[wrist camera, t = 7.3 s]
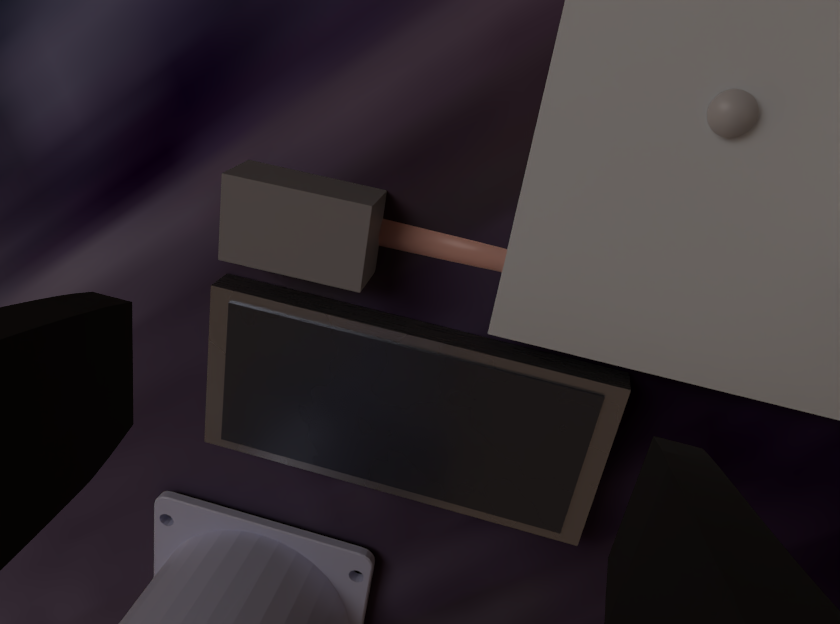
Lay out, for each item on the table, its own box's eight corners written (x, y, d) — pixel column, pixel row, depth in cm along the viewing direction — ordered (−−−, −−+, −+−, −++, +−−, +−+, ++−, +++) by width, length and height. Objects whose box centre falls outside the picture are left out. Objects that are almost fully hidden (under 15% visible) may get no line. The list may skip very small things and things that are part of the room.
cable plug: (625, 233, 19) (632, 263, 17) (601, 312, 20) (605, 349, 18) (259, 154, 20) (221, 173, 18) (253, 233, 21) (218, 259, 19)
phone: (577, 523, 22) (577, 548, 21) (219, 424, 24) (202, 443, 23) (629, 372, 20) (630, 392, 19) (227, 273, 21) (209, 286, 20)
